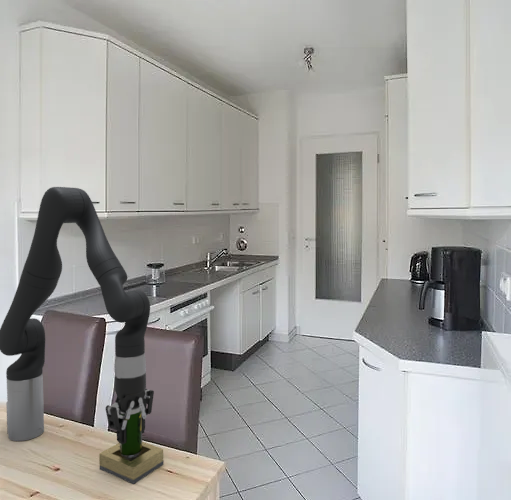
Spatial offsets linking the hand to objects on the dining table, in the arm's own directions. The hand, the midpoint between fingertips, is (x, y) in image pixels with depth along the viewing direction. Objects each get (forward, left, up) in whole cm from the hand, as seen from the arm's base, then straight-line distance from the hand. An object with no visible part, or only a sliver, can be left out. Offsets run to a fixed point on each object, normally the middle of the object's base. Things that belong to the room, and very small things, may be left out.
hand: (131, 437), depth 110 cm
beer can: (0, 0, -4) cm, 4 cm away
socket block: (0, 0, -8) cm, 8 cm away
